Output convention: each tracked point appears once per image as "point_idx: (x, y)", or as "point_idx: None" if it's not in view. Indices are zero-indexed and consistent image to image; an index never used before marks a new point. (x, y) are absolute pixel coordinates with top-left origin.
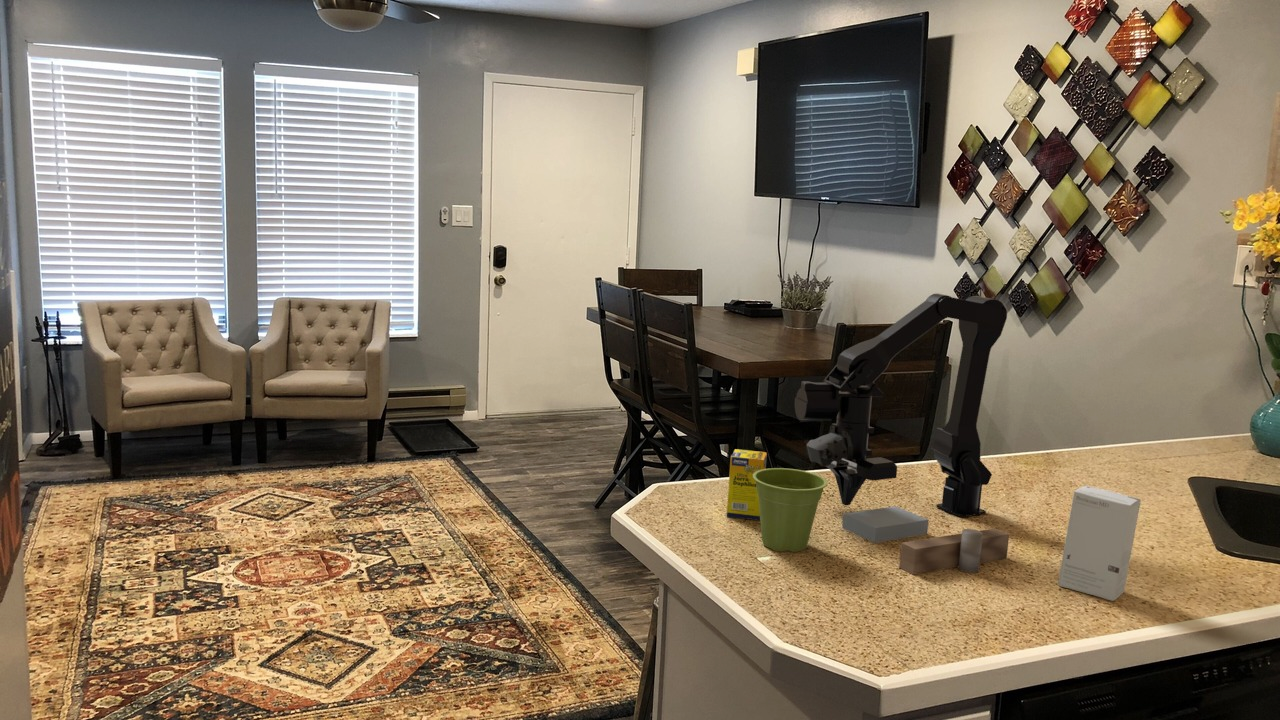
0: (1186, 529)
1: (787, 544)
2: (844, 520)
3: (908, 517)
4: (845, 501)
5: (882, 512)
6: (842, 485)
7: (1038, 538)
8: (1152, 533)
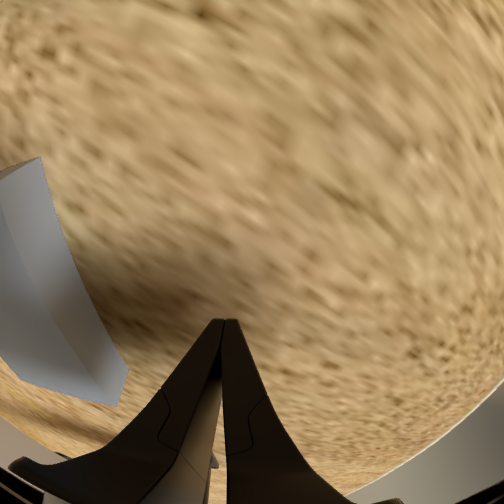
0: None
1: None
2: (7, 173)
3: (19, 362)
4: (204, 332)
5: (41, 343)
6: (224, 408)
7: (63, 427)
8: None
